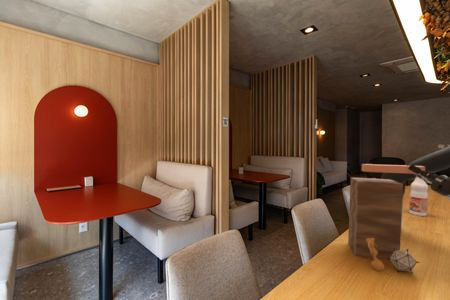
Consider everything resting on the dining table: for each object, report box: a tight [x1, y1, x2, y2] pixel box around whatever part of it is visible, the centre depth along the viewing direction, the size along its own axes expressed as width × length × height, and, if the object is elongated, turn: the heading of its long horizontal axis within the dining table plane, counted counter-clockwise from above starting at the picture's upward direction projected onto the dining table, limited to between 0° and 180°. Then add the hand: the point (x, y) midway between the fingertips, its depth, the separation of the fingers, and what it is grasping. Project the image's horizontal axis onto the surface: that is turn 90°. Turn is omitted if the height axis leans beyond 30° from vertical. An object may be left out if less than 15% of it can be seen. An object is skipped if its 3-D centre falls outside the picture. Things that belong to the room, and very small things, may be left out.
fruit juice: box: [408, 177, 429, 217], centre depth 154 cm, size 9×9×28 cm
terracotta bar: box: [361, 163, 425, 174], centre depth 96 cm, size 4×22×3 cm, turn 75°
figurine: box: [366, 238, 385, 272], centre depth 86 cm, size 8×6×12 cm
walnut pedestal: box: [347, 176, 404, 262], centre depth 99 cm, size 12×16×32 cm
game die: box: [387, 248, 421, 274], centre depth 85 cm, size 9×8×10 cm
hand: (407, 166), depth 95 cm, fingers closed on terracotta bar, 3 cm apart
